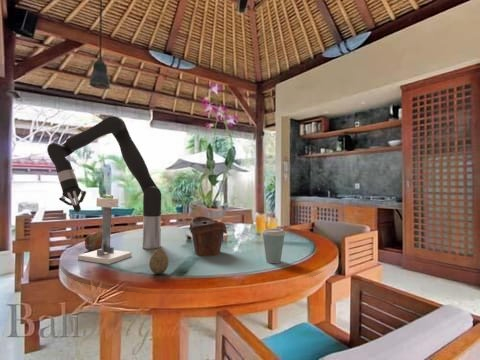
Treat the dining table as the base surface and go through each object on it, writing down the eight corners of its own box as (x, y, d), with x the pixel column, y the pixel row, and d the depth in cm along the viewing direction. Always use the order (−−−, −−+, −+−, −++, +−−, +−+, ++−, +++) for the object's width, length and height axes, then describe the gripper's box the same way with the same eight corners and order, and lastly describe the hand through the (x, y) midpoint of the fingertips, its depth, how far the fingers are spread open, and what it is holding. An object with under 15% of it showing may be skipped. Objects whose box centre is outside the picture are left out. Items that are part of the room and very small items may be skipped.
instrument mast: (94, 251, 130) (96, 194, 130) (103, 249, 134) (105, 194, 134) (108, 253, 127) (110, 195, 127) (116, 251, 132) (118, 195, 132)
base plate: (77, 259, 127) (78, 249, 127) (102, 252, 140) (102, 243, 140) (108, 264, 121) (108, 254, 121) (131, 256, 134) (131, 247, 134)
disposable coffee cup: (266, 265, 123) (266, 231, 124) (258, 258, 134) (258, 227, 134) (288, 264, 126) (288, 230, 126) (278, 257, 137) (279, 227, 137)
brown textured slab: (89, 252, 141) (89, 235, 141) (83, 252, 141) (83, 235, 141) (104, 245, 156) (104, 230, 156) (98, 245, 156) (99, 230, 156)
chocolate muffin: (222, 258, 133) (222, 220, 133) (182, 255, 137) (183, 219, 137) (230, 250, 150) (231, 217, 151) (195, 248, 154) (196, 215, 155)
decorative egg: (169, 271, 113) (170, 246, 113) (165, 277, 106) (166, 250, 106) (152, 270, 113) (152, 246, 113) (146, 276, 106) (147, 250, 106)
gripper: (51, 182, 139) (62, 215, 138) (80, 175, 144) (91, 206, 143) (55, 185, 146) (65, 216, 145) (83, 177, 151) (93, 208, 150)
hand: (78, 211), depth 144 cm, fingers closed
